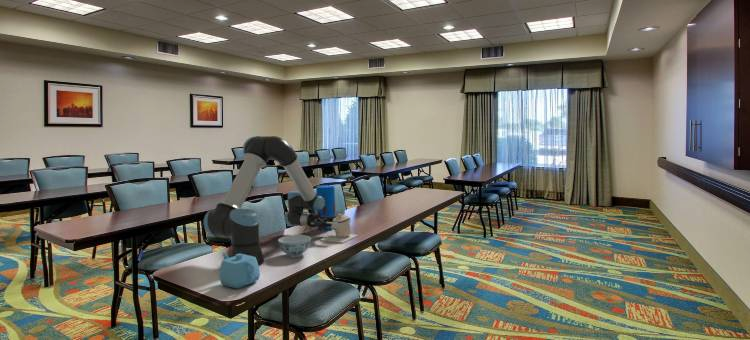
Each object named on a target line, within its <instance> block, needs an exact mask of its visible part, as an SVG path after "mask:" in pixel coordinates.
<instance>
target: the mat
mask: <svg viewBox="0 0 750 340" xmlns="http://www.w3.org/2000/svg"><path fill="white" fill-rule="evenodd" d="M358 236H359V235H358V234H354V233H353V234H352V233H351V234H350V235H348V236H345V237H337V236H336V233H335V232H334V233H331V234H330V235H327V236H325V237H323V238H321V239H319V240H320V242H329V243H337V244H345V243H348V242H349V241H351V240H353V239H355V238H357V237H358Z"/></svg>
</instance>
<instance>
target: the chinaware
mask: <svg viewBox="0 0 750 340" xmlns="http://www.w3.org/2000/svg"><path fill="white" fill-rule="evenodd" d="M277 241H278V245H279V247H280V249H281V251H282V252H283V253H285V254H286V255H287V256H288V257H289V258H300V257H302V256H304V253H305V252H306V251H307V250H308V249H309V247H310V245H311V242H312V237H311V236H309V235H305V234H292V235H286V236H282V237H280V238H278V240H277Z"/></svg>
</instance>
